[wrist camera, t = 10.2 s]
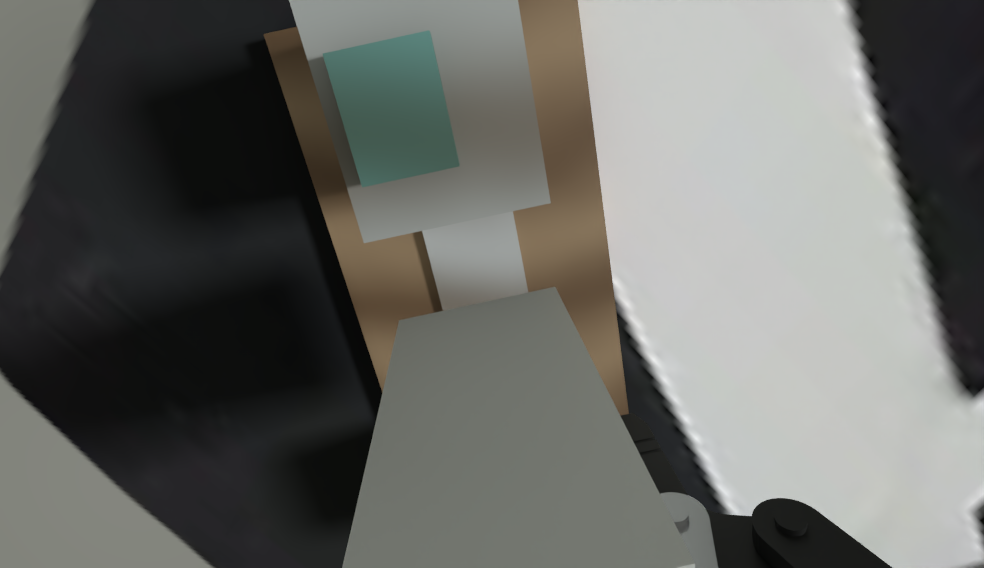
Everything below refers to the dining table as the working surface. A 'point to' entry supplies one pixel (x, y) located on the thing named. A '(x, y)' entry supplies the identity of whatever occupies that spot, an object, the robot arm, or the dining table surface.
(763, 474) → the dining table surface
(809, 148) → the dining table surface
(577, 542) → the block
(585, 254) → the rail board
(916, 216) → the dining table surface
